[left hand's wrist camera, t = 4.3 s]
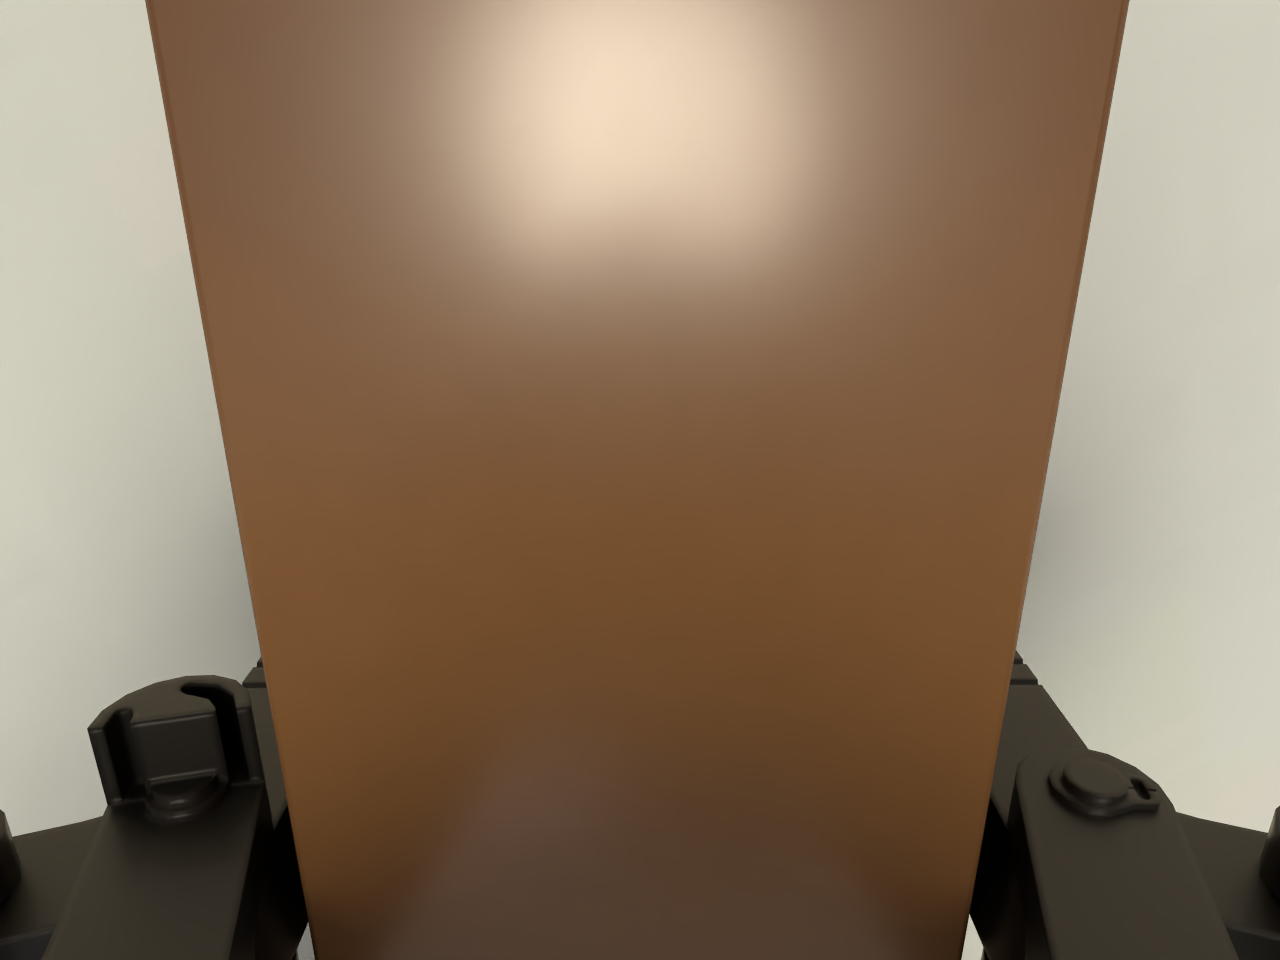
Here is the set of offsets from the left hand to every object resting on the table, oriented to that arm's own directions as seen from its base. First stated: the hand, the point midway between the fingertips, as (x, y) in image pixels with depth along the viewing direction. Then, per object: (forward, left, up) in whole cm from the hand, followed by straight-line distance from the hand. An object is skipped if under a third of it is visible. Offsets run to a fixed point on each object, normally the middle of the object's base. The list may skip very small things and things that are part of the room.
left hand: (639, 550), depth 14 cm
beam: (+23, +10, -1) cm, 26 cm away
